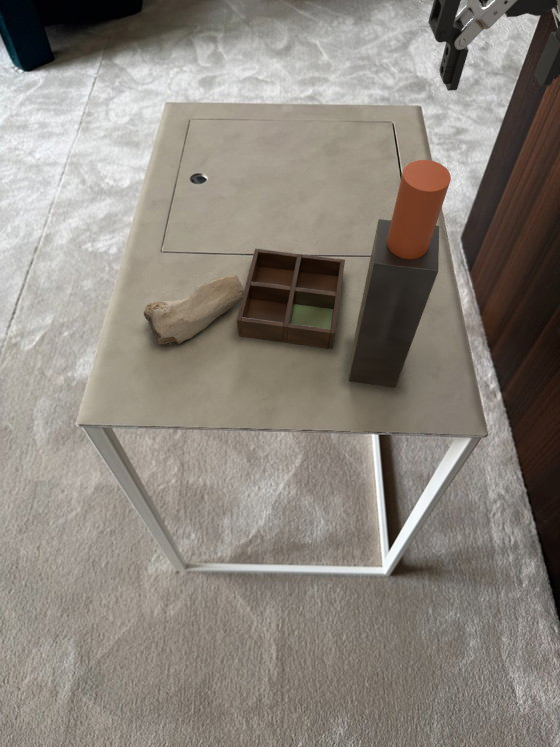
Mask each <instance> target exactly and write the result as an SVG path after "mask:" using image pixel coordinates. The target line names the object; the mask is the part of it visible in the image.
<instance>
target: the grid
mask: <svg viewBox="0 0 560 747" xmlns="http://www.w3.org/2000/svg"><path fill="white" fill-rule="evenodd" d="M345 264H346V259H343V258H336V257H328V256H320V255H313V254H311V255H310V254H304V253H296V252H288V251H281V250H272V249H263V248H255V247H254V250H253V254H252V259H251V263H250V266H249V271H248V275H247V278H246V281H245V285H244V286H245V287H244V289H243V290H244V291H243V298H242V300H241V301H240V305H239V310H238V313H237V317H236V326H237V334H238V337H244V338H252V339H257V340H258V339H259V340H263V341H264V340H266V341H273V342H281V343H286V344H287V343H288V344H294V345H302V346H307V347H316V348H322V349H323V348H324V349H331V350H333V348H334V342H335V336H336V330H337V329H336V328H337V320H338V314H339V313H338V312H339V306H340V301H341V300H340V299H341V292H342V285H343V277H344V270H345Z"/></svg>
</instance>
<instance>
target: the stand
mask: <svg viewBox="0 0 560 747" xmlns="http://www.w3.org/2000/svg"><path fill="white" fill-rule="evenodd" d="M391 220H392V219H384V218H378V220H377V225H376V229H375V235H374V238H373V244H372V249H371V254H370V259H369V264H368V268H367V273H366V277H365V278H366V279H365V283H364V288H363V293H362V297H361V303H360V308H359V311H358V317H357V322H356V327H355V332H354V335H353V336H354V337H353V340H352V348H351V357H350V364H349V365H350V366H349V373H348V381H349V382H353V383H360V384H367V385H375V386H382V387H388V388H396V387H397V385H398V382H399V379H400V377H401V374H402V371H403V368H404V366H405V364H406V360H407V357H408V355H409V351H410V350H411V347H412V344H413V342H414V338H415V336H416V334H417V330H418V328H419V324H420V322H421V320H422V316H423V314H424V311H425V309H426V306H427V303H428V301H429V297H430V295H431V292H432V290H433V287H434V284H435V281H436V279H437V276H438V272H439V267H440V266H439V263H440V262H439V261H440V260H439V258H440V256H439V255H440V226H439V225H436V226H435V229H434V233H433V236H432V239H431V242H430V245H429V248H428V250H427V252H426V253H425V254H424V255H423V256H422V257H419V258H416V259H404V258H400V257H398V256H396V255H394V254H393V253H392V252H391V251H390V250H389V248H388V246H387V238H388V233H389V229H390V225H391Z"/></svg>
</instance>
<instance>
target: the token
mask: <svg viewBox="0 0 560 747" xmlns="http://www.w3.org/2000/svg"><path fill="white" fill-rule="evenodd" d="M451 179H452V176H451V172H450V171H449V170H448V168H447V167H446V166H445V165H443V164H442V163H440V162H438V161H435V160H430V159H416V160H413V161H411V162H408V163H407V164H406V165H405V166H404V168H403V170H402V173H401V177H400V181H399V185H398V186H399V187H398V192H397V195H396V199H395V205H394V208H393V214H392V216H391V219H390V220H391V225H390V229H389V233H388V238H387V246H388V248H389V250H390V251H391V252H392V253H393V254H394V255H396V256H398V257H400V258H404V259H416V258H419V257H422V256H423V255H424V254H425V253H426V252H427V250H428V248H429V245H430V242H431V239H432V236H433V233H434V229H435V226H437V223H438V220H439V218H440V213H441V212H442V211H441V210H442V209H443V205H444V201H445V199H446V196H447V193H448V190H449V187H450V184H451V181H452V180H451Z"/></svg>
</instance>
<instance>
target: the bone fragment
mask: <svg viewBox="0 0 560 747" xmlns="http://www.w3.org/2000/svg"><path fill="white" fill-rule="evenodd" d="M244 290H245V289H244V287H243V285H242V282H241V281H240V279H239V277H238V276H237V274H233V275H230V276H225V277H221V278H219V277H218V278H216V279H214V280H212V281H207V282H203V283H200V284H199V285H198V286H196V288H195V289H194V290H193V292H191V293H190V294H189V295H188V296H187V297H186V298H182V299H178V300H165V301H164V300H163V301H154V302H149V303H148V304H146V305H145V309H144V311H143V316H144V318H145V319H146V321H147V322H148V325H149V328H150V330H151V331H152V334H153V335H154V336H155V338H156V342H157V344H158V345H166V344H169V345H172V343H174V342H175V343H177V344H179V345H180V344H181V343H183V342H186V341H187V340H189V339H192V338H193V337H194V336H196V335H197V334H198V333H201V332H202V331H203V330H205V329H206V328H208V326H209V325H210V324H211V323H212V322H214V321H215V320H216V319H217V318H219V317H220V316H222V315H224V314H225V313H227V312H228V311H229V310H230V309H232V308H234V306H237V305H238V304H239V303H241V302H242V298H243V294H244Z"/></svg>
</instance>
